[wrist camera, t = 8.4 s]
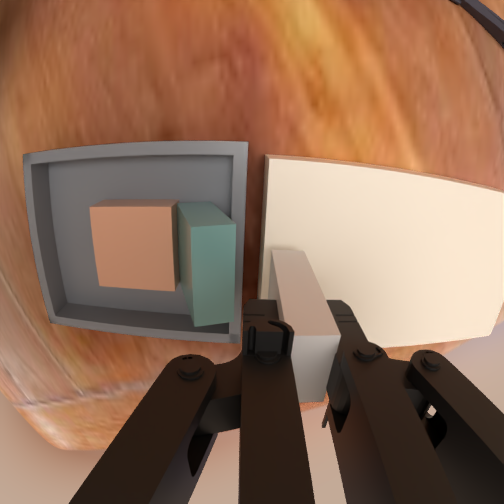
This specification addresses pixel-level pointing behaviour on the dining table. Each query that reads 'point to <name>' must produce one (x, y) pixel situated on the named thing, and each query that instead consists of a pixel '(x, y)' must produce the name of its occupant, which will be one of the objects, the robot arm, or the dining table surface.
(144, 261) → the terracotta tile
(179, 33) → the dining table surface
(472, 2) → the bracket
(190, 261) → the green glazed tile
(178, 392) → the robot arm
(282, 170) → the cream board
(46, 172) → the tray
